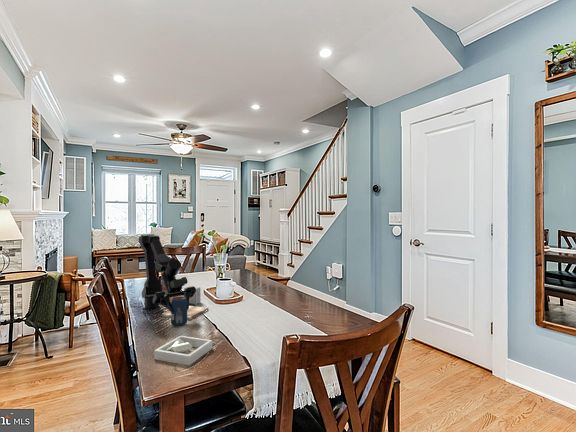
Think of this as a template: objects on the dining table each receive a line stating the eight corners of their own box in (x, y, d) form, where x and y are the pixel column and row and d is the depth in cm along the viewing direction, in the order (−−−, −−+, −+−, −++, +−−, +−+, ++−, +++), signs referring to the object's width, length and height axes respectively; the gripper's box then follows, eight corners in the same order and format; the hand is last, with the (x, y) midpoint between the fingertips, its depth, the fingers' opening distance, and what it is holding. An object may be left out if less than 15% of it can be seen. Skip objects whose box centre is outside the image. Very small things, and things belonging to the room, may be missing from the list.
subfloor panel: (161, 316, 154) (161, 313, 154) (182, 307, 169) (182, 304, 169) (189, 319, 149) (189, 317, 149) (208, 310, 164) (208, 307, 164)
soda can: (181, 321, 147) (181, 295, 147) (190, 324, 143) (190, 297, 143) (167, 325, 142) (167, 298, 142) (176, 328, 137) (176, 301, 137)
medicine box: (200, 302, 179) (200, 287, 178) (196, 304, 174) (196, 288, 174) (188, 301, 181) (188, 286, 181) (183, 303, 176) (183, 287, 176)
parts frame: (154, 359, 109) (154, 350, 108) (180, 343, 122) (180, 335, 122) (189, 365, 104) (189, 356, 104) (212, 348, 117) (212, 340, 117)
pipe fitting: (192, 350, 117) (174, 348, 117) (193, 340, 117) (175, 338, 117) (184, 360, 109) (165, 358, 109) (185, 349, 109) (166, 347, 109)
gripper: (154, 274, 139) (165, 304, 131) (194, 269, 151) (206, 296, 143) (148, 289, 144) (157, 319, 136) (187, 283, 157) (197, 310, 149)
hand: (180, 310), depth 141 cm, fingers closed on soda can, 7 cm apart
